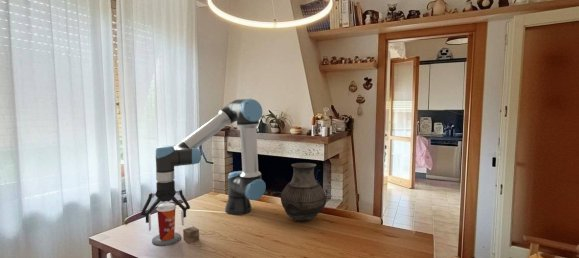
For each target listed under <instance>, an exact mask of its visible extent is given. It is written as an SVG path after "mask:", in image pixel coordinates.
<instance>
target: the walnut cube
mask: <svg viewBox="0 0 579 258" xmlns="http://www.w3.org/2000/svg"><path fill="white" fill-rule="evenodd" d="M182 231H183V233H182V235H183V237H182V240H183V241H184V242H186V243H187V244H191V243H194V242H195V243H196V242H197V241H200V229H199V228H197V227H195V226H189V227H186V228H183V230H182Z"/></svg>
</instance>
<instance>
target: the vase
mask: <svg viewBox="0 0 579 258" xmlns="http://www.w3.org/2000/svg"><path fill="white" fill-rule="evenodd" d="M291 167H292V169H293V172H292V178H291V181H289V182H288V183H287V184H286V185H285V187H284V188H283V190H282V191H281V194H280V202H281V206H282V207H283V209H284V211H285V213H286V215H287V216H288V217H289V218H291V219H293V220H296V221H299V222H300V221H301V222H304V221H305V222H307V221H310V220H312V219H314V218H315V217H316V216H317V215H318V214H320V213H321V212H322V210H323V209H324V208H325V207H326V203H327V195H326V193H325V190H324V189H323V187H322V185H321V184H320V183H319V182H317V179H316V178H315V168H316V167H317V163H311V162H295V163H291Z"/></svg>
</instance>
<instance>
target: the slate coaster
mask: <svg viewBox="0 0 579 258" xmlns="http://www.w3.org/2000/svg"><path fill="white" fill-rule="evenodd" d="M181 238H182V235H181V234H180V233H178V232H175V231H174V238H173V239H171V240H167V241H162V240H160V236H159V234H157V235H155V236H154V237H152V239H151V243H152V245H154V246H159V247H160V246H162V247H163V246H164V247H165V246H170V245H173V244H175V243H178V242H179V241H180V240H181Z"/></svg>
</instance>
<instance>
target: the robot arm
mask: <svg viewBox="0 0 579 258" xmlns="http://www.w3.org/2000/svg"><path fill="white" fill-rule="evenodd" d="M262 116H263V107H262V104H261V103H260V102H259V101H257V100H255V99H253V98H246V99H245V98H243V99H235V100H233V101H231V102H229V103H228V104H226V105H225V106H224V107H222V109H220V110H219V111H218V114H216V115H215V116H214V117H212V118H211V119H210V120H208V121H207V122H206V123H204V124H203V125H202V126H201V127H199V128H198V129H196V130H195V131H194V132H192V133H191V134H190V135H188V136H187V137H185V138H184V139H183V140H182V141H180V142H179V143H177V144H175V145H160V146H159V145H158V146H157V147H156V148H155V178H156V179H155V180H156V182H155V184H156V186H155V187H156V191H155V192H152V191H150V192H148V197H147V199H146V201H145V203H144V205H143V207H142V209H141V212H140V215H141V216H144V217H145V223H146V224H148V231H152V225H151V224H152V223H151V221H152V219H151V213H152V212H153V210H155V208H156V207H158V205H159V204H160V203H161V202H162V203H166V202H171V201H173V203H174V204H175V205H176V206H178V207H179V208H180V209H181V210H180V216H181V217H180V218H181V219H180V220H181V221H180V222H181V223H180V224H181V226H185V223H184V221H185V219H184V218H187V210H189V209H191V207H190V204H189V202H188V201H187V199H186V197H185V195H184V194H183V190H182V189H181V188H180V189H175V188H176V186H175V185H176V182H175V178H176V176H175V167H180V166H191V165H192V166H193V165H197V164H199V163H200V162H201V160H202V153H201V150H200V149H199V147H201V146H202V145H203V144H204V143H205V142H207V141H208V140H209V139H211V138H212V137H213V136H215V135H216V134H217V133H219V132H220V131H221V130H222V129H224V128H225V127H227V126H231V125H232V124H234V123H235V122H236V125H237V126H238V128H239V131H240V151H241V169H242V170H238V171H232V172H229V173H228V176H227V184H228V185H227V189H228V190H227V193H228V196H227V197H228V198H227V202H226V204H225V208H224V209H225V210H224V211H225V213H226V214H228V215H231V216H232V215H233V216H235V215H236V216H238V215H240V216H241V215H246V214H249V213H250V212H252V204H251V201H257V200H259V199H261V198H262V196H263V195H264V194H265V192H266V188H267V187H266V182H265V181H264V180H263V179H262V173H261V171H259V159H258V158H259V157H258V154H259V153H258V135H257V133H258V132H257V127H258V126H259V125H260V121H259V120H261V117H262ZM176 194H177V195H179V197H180V199H181V200H182V201H183V203H184V204H182V202H181V201H180V200H178V199H177V198H176V197H175V196H176ZM154 197H156V200H155V201H154V202H152V204H151V205H150V203H151V201H152V199H153V198H154ZM250 200H251V201H250ZM149 205H150V206H149ZM184 205H185V206H184ZM148 207H149V208H148ZM146 210H147V211H146Z"/></svg>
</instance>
